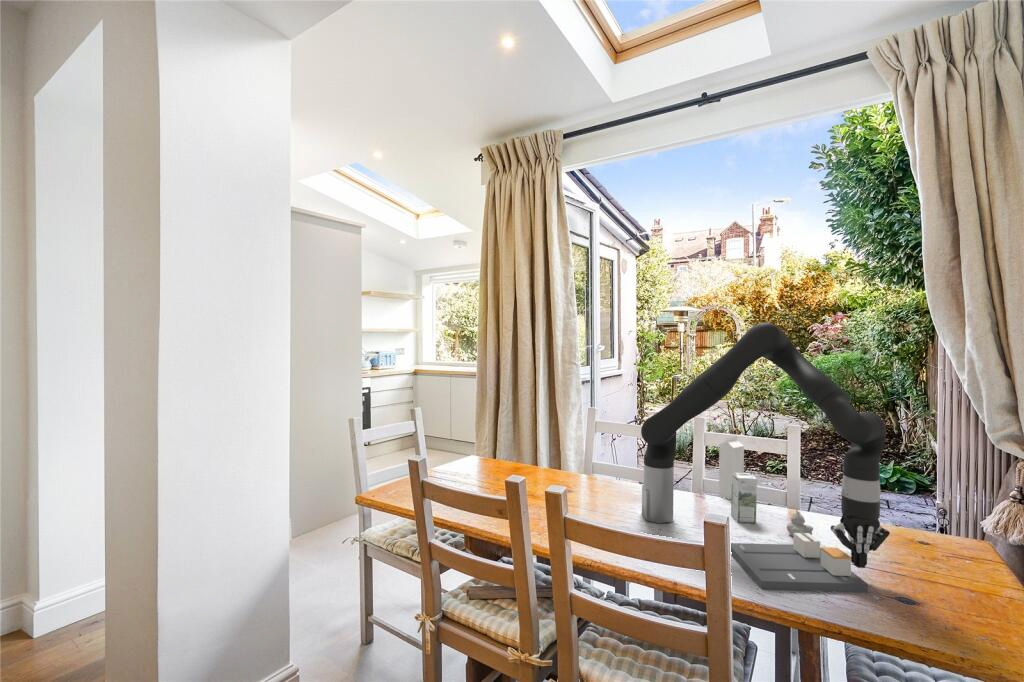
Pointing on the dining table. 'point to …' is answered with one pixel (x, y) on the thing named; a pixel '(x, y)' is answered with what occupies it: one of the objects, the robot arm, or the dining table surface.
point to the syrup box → (744, 497)
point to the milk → (729, 464)
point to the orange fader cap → (835, 561)
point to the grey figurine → (798, 524)
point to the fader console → (790, 569)
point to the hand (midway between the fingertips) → (858, 566)
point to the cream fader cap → (806, 545)
